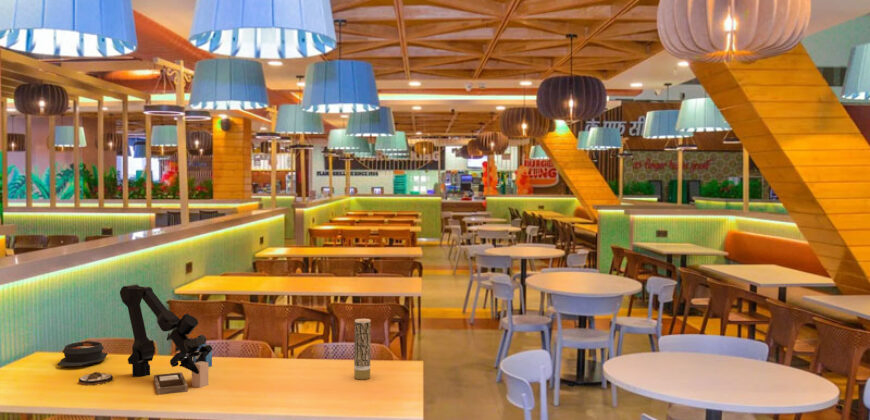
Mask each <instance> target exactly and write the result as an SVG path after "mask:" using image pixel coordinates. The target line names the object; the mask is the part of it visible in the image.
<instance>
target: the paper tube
mask: <svg viewBox="0 0 870 420" xmlns="http://www.w3.org/2000/svg"><path fill="white" fill-rule="evenodd" d="M371 322H372V321H371V319H370V318H356V319H354V355H353V356H354V359H353V360H354V362H353V363H354V364H353V368H354V375H353V377H354V378H355V379H356V380H363V381H364V380H367V379H370V378H371V342H372V341H371V340H372V339H371V338H372V337H371V333H372V330H371V328H372V327H371V325H372V323H371Z"/></svg>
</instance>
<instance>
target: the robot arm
mask: <svg viewBox="0 0 870 420" xmlns="http://www.w3.org/2000/svg"><path fill="white" fill-rule="evenodd" d="M119 296H120V299H121V302H122V303H123V304H124V305H125V306H126V308H127V311H128V316H129V319H130V325H131V330H132V335H133V339H134V341H133V345H132V348H131V349H132V351H131V352H132V353H131V354H130V355H129V356H128V358H127V364H128V365H132V367H131V368H132V369H131V371H132V372H131V373H132V375H131V376H132V377H133V378H141V377H142V378H143V377H146V376H147V377H148V376H150V375H151V364H150V363H149V362H152V361H153V360H154V356H155V353H156V347H155V342H154V340H153V339H152V340H150V339H149V337H148V336H147V329H146V326H145V322H144V321H145V320H144V316H143V312H142V306H141V302H142V300H143V301H144V303H145V304H146V305H147V306H148V308H149V309H150V311H151V312H152V313H153V314H154V315H155V317H156V322H157V324H158V326H159V329H160V330H161V331H162V332H169V333H167V337H166V341H172V342H173V344H174V345H175V346H176V348H175V351H176V353H175V354H173V356H172V357H171V359H170V360H169V364H170V365H171V367H172V368H174V367H177V366H179V367H182V368H185V369H186V370H188V371H191V373H192V372H194V373H196V374H198V373H199V371H198V369H197V367H196V365H195V364H194V362H193V357H196V359H197V360H196V361H195V362H199V361H202V362H206V356H207V355H208V354H209V353H210V352H212V351H213V350H214V349H213V347H212V345H211V344H207V345H205V346H202V347H201V348H200V349H199V350H198V351H197V349H198V348H199V346H200V345H202V344H205V342H206V343H207V337H206V336H205V334H199V335H198V336H197V337H195V338H192V337H189V335H190V334H191V333H192V332H193V331H194V330H195V328H196V327H197V326H198V324H199V321H198V319H197V317H195V316H193V315H190V313H185V314H183V316H182V317H181V318H179V317H178V315H176V314H175V313H174V312H172V311H170V310H168V308H166V306H165V305H164V304H163V302H162V301H161V300H160V298H159V297H158V296H157V295H156V293H154V290H153V287H150V286H140V285H139V284H131V285H130V284H129V285H124V286H122V287H121V288H120V290H119ZM170 331H171V332H170ZM178 351H179V352H178ZM179 362H180V364H179Z"/></svg>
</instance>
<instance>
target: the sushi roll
mask: <svg viewBox="0 0 870 420" xmlns="http://www.w3.org/2000/svg"><path fill="white" fill-rule="evenodd" d="M111 381H113V374H111V373H105V372H99V371H95V372H93V373H89V374H85V375H82V376H81V377H79V378H78V382H79V383H80V385H82V384H83V385H84V386H88V385H89V386H91V385H92V386H98V385H97V384H101V385H103V383H104V384H107V383H106V382H108V383H110V382H111Z"/></svg>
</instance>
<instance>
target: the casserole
mask: <svg viewBox="0 0 870 420" xmlns="http://www.w3.org/2000/svg"><path fill="white" fill-rule="evenodd" d="M104 349H105V347H104V346H103V345H102V342H99V341H91V340H90V341H79V342H74V343H68V344H66V345H64V348H63V350H62V352H61V353H63V354H64V357H63V358H62V359H60V362H59V361H58V363H57V365H58V366H61V367H81V366H83V367H84V365H85V366H90V364H91V365H93V364H97V363H99V362H101V361H104V360H106V358H107V356H108V353H107V352H103V350H104Z"/></svg>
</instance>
